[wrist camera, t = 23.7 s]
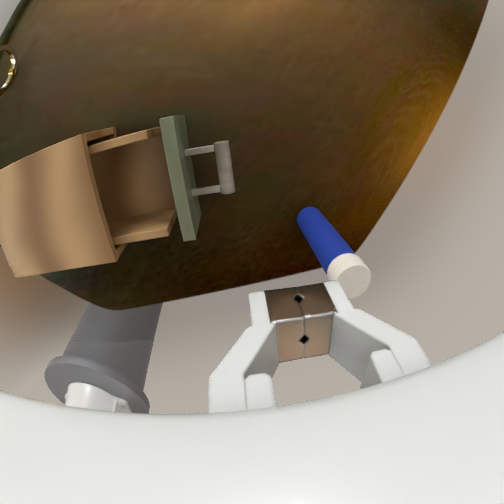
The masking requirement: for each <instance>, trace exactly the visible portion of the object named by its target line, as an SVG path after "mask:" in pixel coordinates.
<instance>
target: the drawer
mask: <svg viewBox="0 0 504 504" xmlns="http://www.w3.org/2000/svg"><path fill="white" fill-rule="evenodd" d="M159 120H160V127H155V128H151V129H147V130H143V131H139V132H135V133H131V134H127V135H124V136H120V137H117V138H113V139H110V140H106V141H103V142H100V143H97V144H94V145H90V146H88V151H89V156H90V160H91V165H92V169H93V173H94V177H95V182H96V185H97V189H98V193H99V197H100V201H101V204H102V208H103V211H104V215H105V218H106V221H107V224H108V228H109V231H110V234H111V237H112V240H113V243H114V245H118V244H124V243H129V242H135V241H141V240H147V239H153V238H159V237H166V236H169V234H170V232H171V229H172V227H173V225H174V222H175V220H176V217H177V215H178V219H179V223H180V228H181V232H182V236H183V240H184V241H190V240H196V237H197V232H198V227H199V222H200V217H201V210H200V204H199V199H198V195H203V194H210V193H216V192H221V193H222V194H230V193H233V192H235V184H234V177H233V170H232V162H231V155H230V148H229V141H219V142H215V143H214V145H209V146H203V147H197V148H191V149H190V147H189V141H188V135H187V128H186V122H185V115H178V116H170V117H166V118H161V119H159ZM214 151H215V156H216V163H217V170H218V176H219V183H220V185H215V186H208V187H202V188H196V182H195V177H194V171H193V165H192V159H191V155H196V154H202V153H208V152H214Z"/></svg>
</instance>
